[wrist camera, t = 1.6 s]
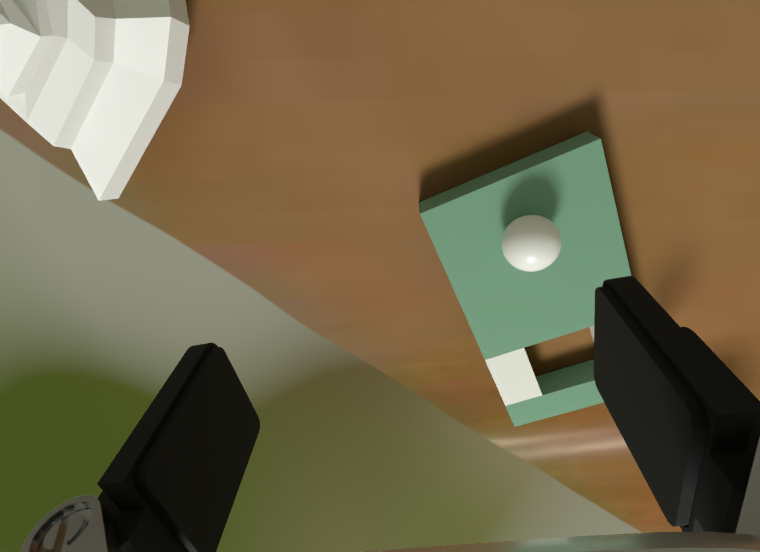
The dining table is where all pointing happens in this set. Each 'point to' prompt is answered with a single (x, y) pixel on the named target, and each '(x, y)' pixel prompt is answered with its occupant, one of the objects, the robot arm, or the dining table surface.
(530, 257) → the ball
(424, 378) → the dining table surface
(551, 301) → the green
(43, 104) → the soft serve ice cream
